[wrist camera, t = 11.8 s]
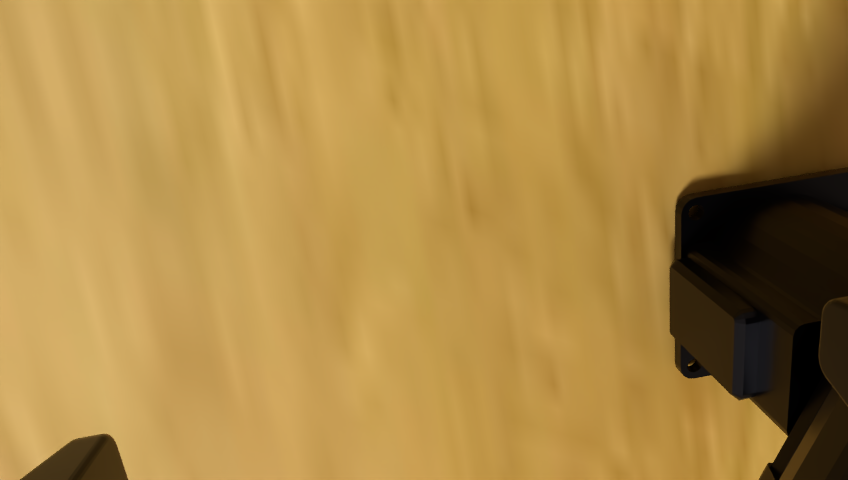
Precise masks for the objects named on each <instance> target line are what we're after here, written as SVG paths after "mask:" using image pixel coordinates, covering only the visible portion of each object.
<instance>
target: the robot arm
mask: <svg viewBox="0 0 848 480" xmlns="http://www.w3.org/2000/svg"><path fill="white" fill-rule="evenodd" d="M695 205H698V210H697V212H696V213H695V214H694V215H692V216H689V210H690V209H691V208H692V207H693V206H695ZM670 333H671V335H672V336H673V337H674V338H675V364H676V367H677V369H678V370H679V371H680V372H681V373H682V374H683V375H684V376H685V377H687V378H699V377H704V376H709V375H712V376H713V377H714V378H715V379H716V380H717V381H718V382H719V383H720V384H721V385H722V386H723V387H724V388H725V389H726V390H727V391H728V392H729V393H730V394H731V395H732V396H734V397H735V398H737V399H738V400H743V399H751V400H752V401H753V402H754V403H755V404H756V405H757V406H758V407H759V408H760V409H761V410H762V411H763V412H764V413H765V414H766V415H767V416H768V417H769V418H770V419H771V420H772V421H773V422H774V423H775V424H776V425H777V426H778V427H779V428H780V429H781V430H782V431H783V432H784V433H785V434H786V435H787V436H788V437H787V439H786V441H785V443H784V445H783V446H782V448H781V450H780V452H779V453H778V455H777V457H776V459H775V460H774V462H773V463H768V464H767V466H766V468H765V469H764V471H763V473H762V475H761V476H760V478H759V480H848V168H842V169H836V170H830V171H824V172H818V173H812V174H806V175H800V176H794V177H788V178H782V179H776V180H770V181H764V182H758V183H752V184H746V185H740V186H734V187H728V188H722V189H716V190H710V191H704V192H698V193H692V194H688V195H686V196H684V197H683V198H681V199H680V200H679V202H678V204H677V205H676V210H675V260H674V261H673V263H672V265H671V266H670ZM693 359H696V361H695V363H694V364H693V365H691V366H688V363H689V362H690V361H691V360H693ZM20 480H128V478H127V475H126V472H125V469H124V466H123V463H122V459H121V456H120V453H119V450H118V447H117V445H116V442H115V441H114V439H113V438H112V437H111V436H110V435H108V434H99V435H94V436H88V437H83V438H78V439H75V440H72V441H71V442H69V443H68V444H67V445H65V446H64V447H63V448H61V449H60V450H59V451H57V452H56V453H55V454H53V455H52V456H51V457H49V458H48V459H47V460H45V461H44V462H43V463H41V464H40V465H39V466H37V467H36V468H35V469H33V470H32V471H31V472H30V473H28V474H27V475H26V476H24V477H23V478H22V479H20Z"/></svg>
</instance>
